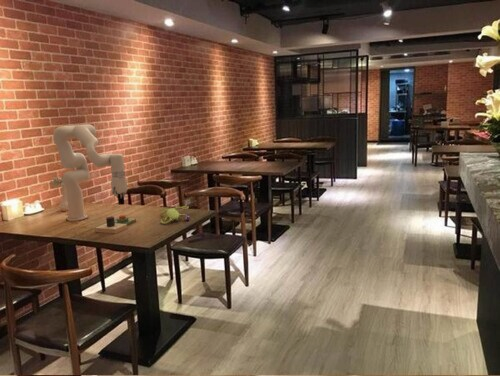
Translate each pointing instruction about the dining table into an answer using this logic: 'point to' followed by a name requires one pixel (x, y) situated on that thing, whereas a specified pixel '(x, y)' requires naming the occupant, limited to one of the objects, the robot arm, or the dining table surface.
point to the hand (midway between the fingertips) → (121, 204)
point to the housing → (125, 221)
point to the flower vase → (64, 202)
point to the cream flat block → (111, 228)
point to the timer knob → (110, 221)
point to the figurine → (174, 214)
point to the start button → (122, 217)
